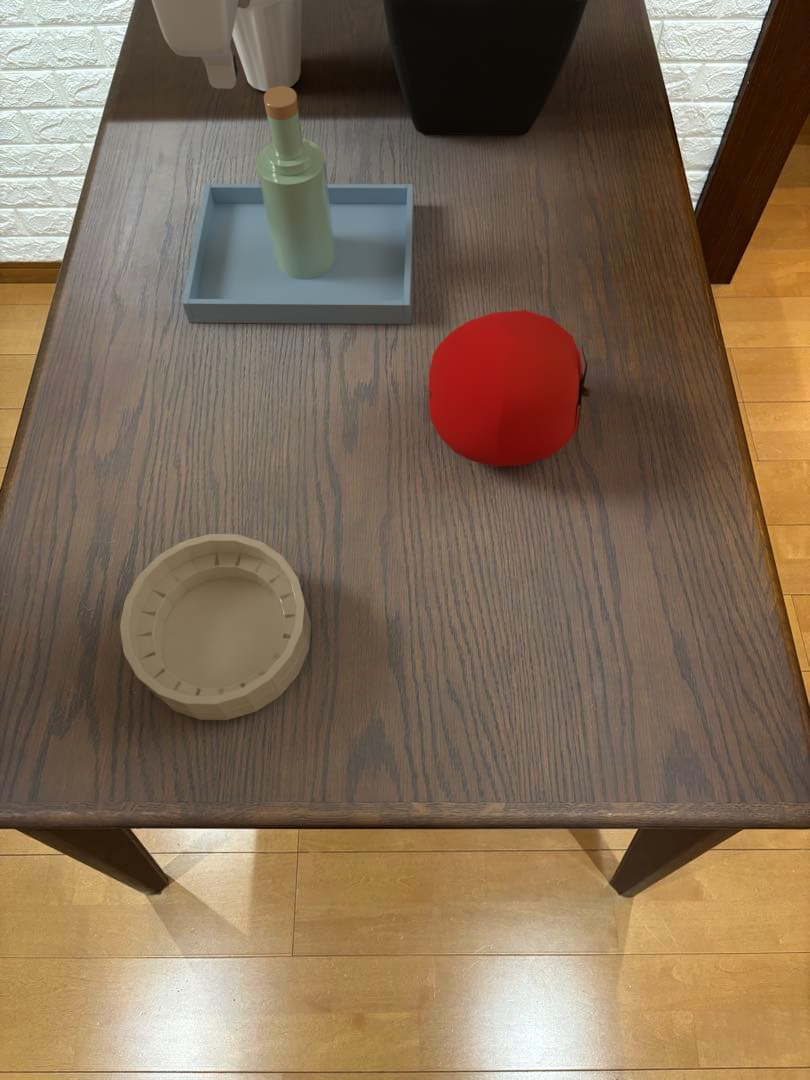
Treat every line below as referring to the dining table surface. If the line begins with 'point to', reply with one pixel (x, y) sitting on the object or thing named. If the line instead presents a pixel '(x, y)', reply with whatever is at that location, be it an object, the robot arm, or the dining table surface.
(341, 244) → the tray
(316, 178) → the bottle
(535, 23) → the flower pot
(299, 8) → the cup
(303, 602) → the bowl
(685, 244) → the dining table surface
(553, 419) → the tomato
